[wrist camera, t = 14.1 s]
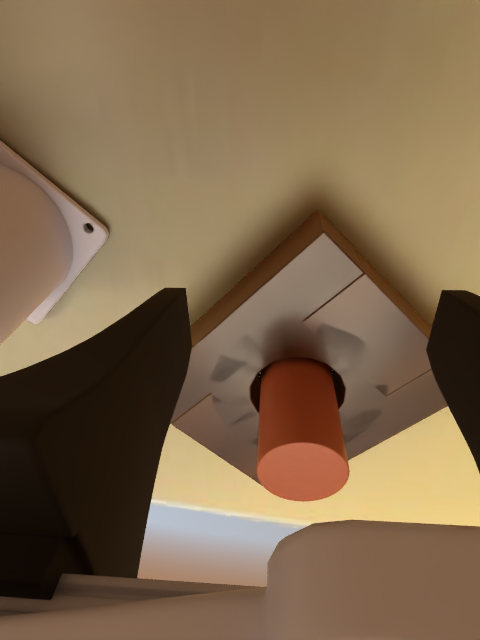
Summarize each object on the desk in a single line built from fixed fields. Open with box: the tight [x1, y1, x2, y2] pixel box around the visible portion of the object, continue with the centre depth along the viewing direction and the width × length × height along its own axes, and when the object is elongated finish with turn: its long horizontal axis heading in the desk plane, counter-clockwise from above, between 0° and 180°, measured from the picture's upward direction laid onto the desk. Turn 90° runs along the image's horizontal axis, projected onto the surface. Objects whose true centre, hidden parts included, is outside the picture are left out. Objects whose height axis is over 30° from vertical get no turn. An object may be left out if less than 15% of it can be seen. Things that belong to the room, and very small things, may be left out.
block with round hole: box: [170, 210, 448, 486], centre depth 23 cm, size 12×14×3 cm
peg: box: [257, 357, 349, 501], centre depth 21 cm, size 4×4×8 cm
